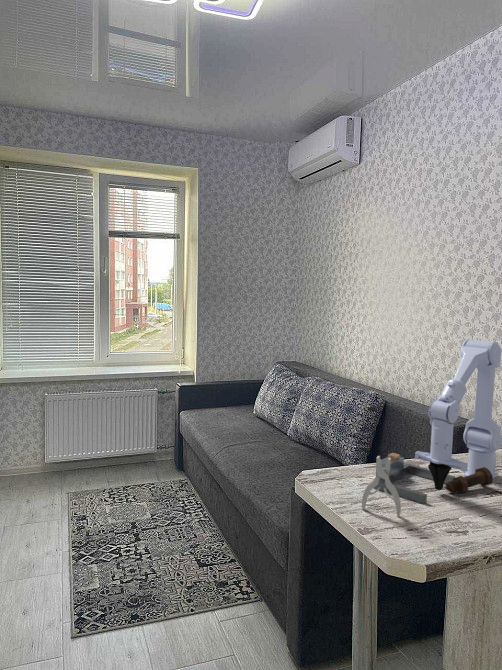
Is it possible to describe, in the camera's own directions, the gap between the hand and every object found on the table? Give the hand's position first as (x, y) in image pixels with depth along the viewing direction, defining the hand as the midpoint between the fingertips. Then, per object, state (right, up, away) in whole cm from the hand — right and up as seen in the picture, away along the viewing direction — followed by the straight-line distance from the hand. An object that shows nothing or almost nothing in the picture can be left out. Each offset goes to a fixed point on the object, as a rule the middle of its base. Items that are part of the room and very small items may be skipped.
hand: (438, 488), depth 147 cm
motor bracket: (-6, -1, +6) cm, 9 cm away
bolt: (+3, 0, 0) cm, 3 cm away
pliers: (-20, -3, -14) cm, 25 cm away
